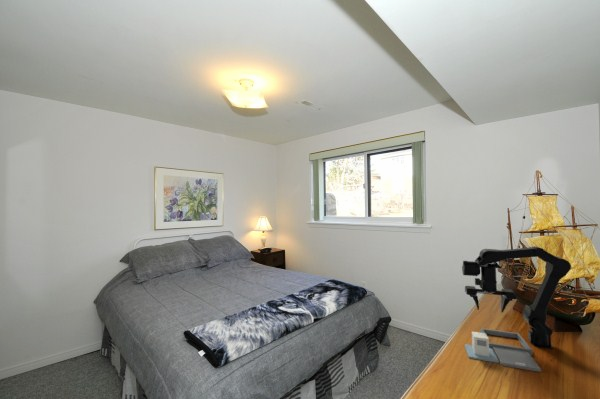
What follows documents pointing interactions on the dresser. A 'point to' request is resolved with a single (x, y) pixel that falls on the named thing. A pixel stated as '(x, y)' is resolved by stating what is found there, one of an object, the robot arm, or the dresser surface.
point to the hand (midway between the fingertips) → (489, 310)
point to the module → (480, 343)
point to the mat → (471, 354)
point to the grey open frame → (512, 351)
